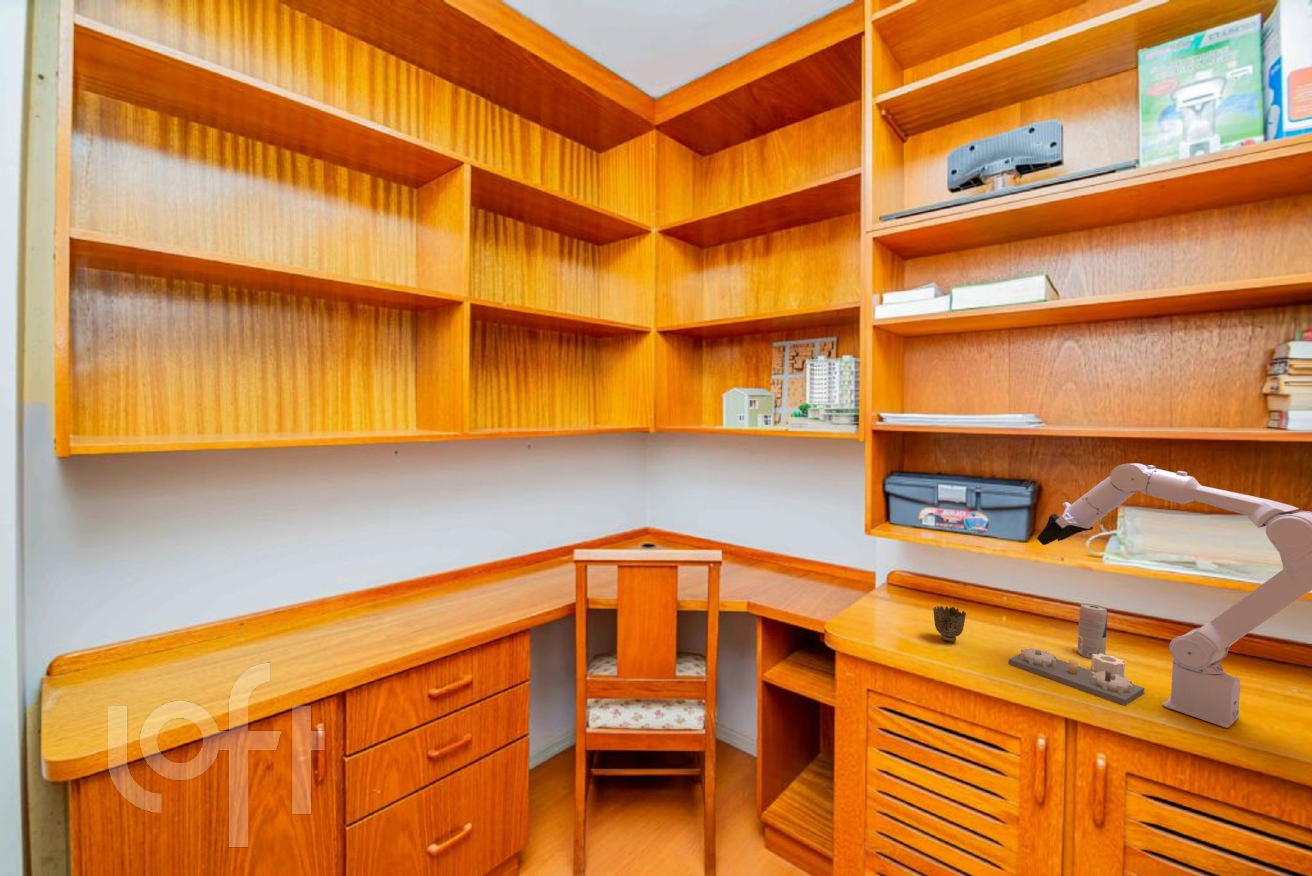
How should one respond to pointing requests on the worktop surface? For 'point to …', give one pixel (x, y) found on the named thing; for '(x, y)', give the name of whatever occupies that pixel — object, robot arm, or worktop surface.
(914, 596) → the worktop surface
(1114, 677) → the gear board
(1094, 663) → the loose gear
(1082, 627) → the energy drink
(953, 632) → the cup
